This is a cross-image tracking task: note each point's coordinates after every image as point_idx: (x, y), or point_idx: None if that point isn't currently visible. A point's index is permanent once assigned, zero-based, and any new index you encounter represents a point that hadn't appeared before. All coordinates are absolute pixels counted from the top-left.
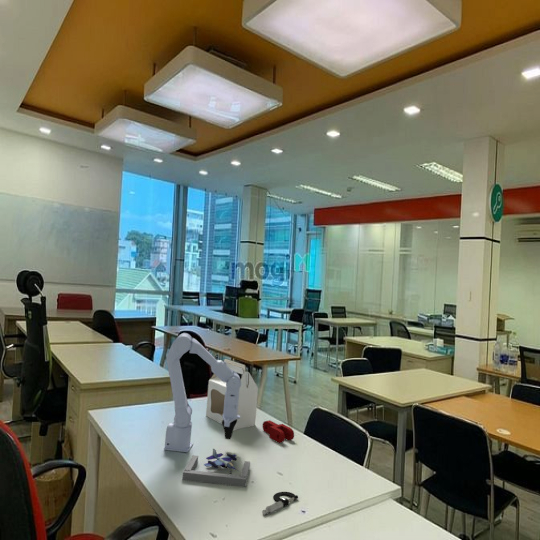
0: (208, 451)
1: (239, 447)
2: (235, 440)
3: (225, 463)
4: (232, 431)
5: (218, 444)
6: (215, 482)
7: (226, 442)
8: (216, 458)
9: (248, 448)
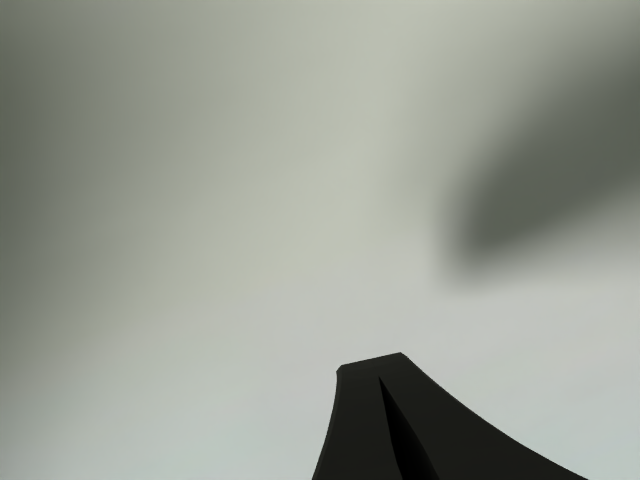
0: None
1: (219, 169)
2: (2, 319)
3: None
4: (484, 437)
5: (274, 455)
6: None
7: (154, 398)
8: None
9: (176, 9)
